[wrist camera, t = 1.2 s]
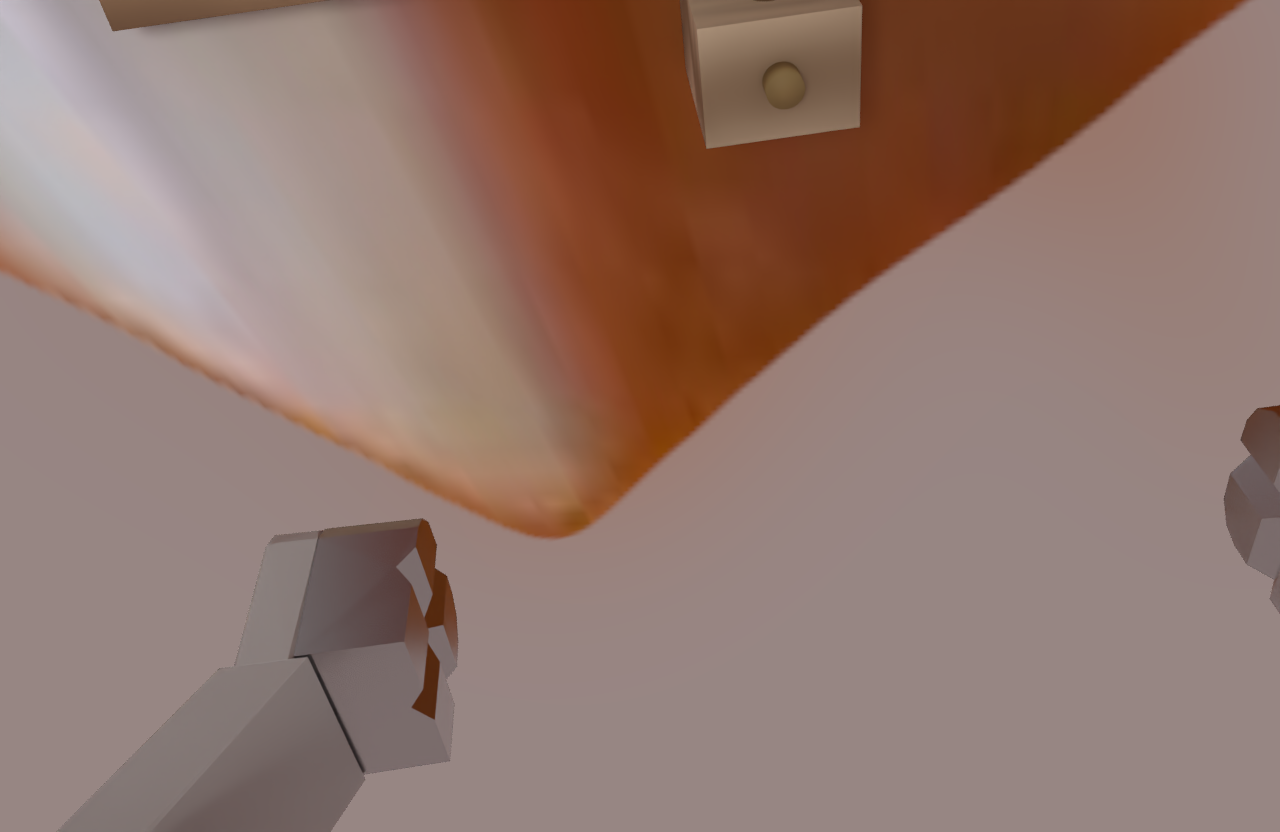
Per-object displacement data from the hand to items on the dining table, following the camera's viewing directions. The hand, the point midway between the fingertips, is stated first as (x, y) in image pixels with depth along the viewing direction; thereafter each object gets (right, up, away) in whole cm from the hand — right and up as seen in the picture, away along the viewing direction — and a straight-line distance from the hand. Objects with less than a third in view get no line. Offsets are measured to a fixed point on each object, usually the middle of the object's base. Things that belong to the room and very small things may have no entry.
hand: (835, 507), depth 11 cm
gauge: (+1, +18, +25) cm, 31 cm away
